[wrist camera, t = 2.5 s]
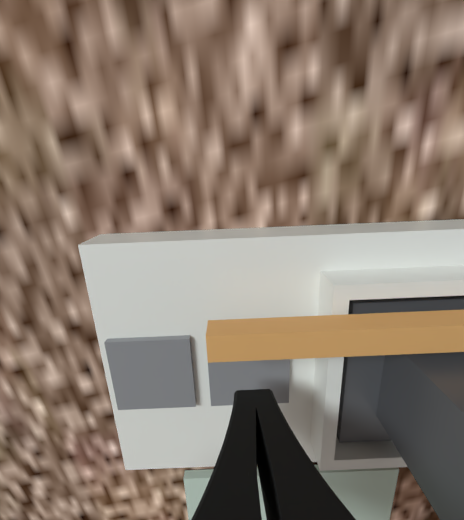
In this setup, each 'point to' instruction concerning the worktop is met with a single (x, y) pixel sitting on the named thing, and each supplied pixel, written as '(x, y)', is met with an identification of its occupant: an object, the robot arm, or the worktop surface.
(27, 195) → the worktop surface
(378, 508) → the mat
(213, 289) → the white panel
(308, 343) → the hammer
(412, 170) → the worktop surface
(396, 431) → the plug
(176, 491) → the worktop surface
